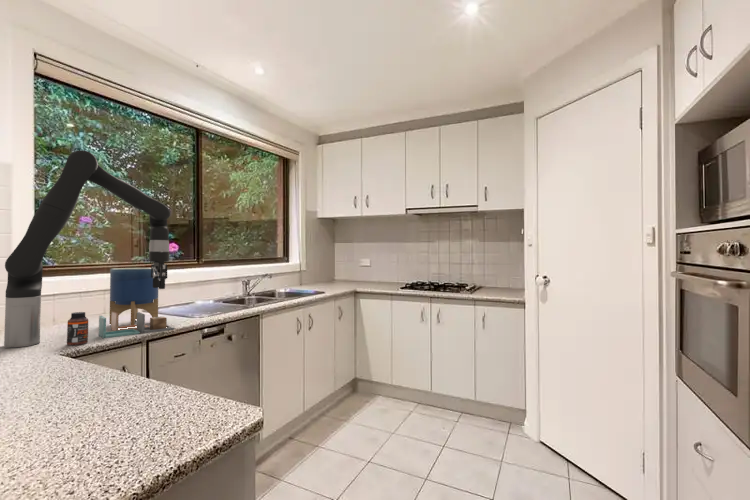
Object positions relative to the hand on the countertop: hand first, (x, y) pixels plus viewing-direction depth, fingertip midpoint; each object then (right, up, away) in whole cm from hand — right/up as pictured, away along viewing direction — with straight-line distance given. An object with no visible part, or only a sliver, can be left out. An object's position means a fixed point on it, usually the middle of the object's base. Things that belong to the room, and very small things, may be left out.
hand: (158, 288), depth 158 cm
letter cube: (0, -18, 0) cm, 18 cm away
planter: (-21, -19, +15) cm, 32 cm away
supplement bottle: (-14, -18, -25) cm, 34 cm away
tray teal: (-10, -18, -10) cm, 23 cm away
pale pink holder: (-13, -18, +1) cm, 22 cm away
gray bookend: (-1, -18, -1) cm, 18 cm away
